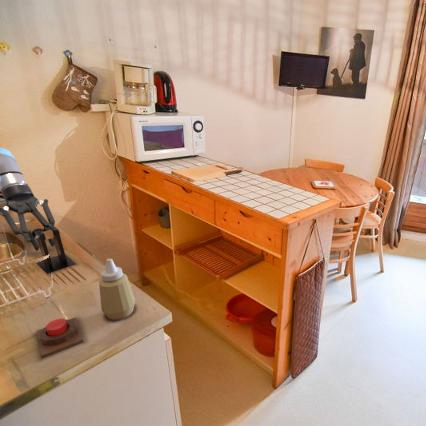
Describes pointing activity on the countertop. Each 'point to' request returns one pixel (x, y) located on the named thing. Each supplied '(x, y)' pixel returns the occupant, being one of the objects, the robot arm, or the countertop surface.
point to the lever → (44, 233)
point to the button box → (59, 339)
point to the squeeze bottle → (115, 292)
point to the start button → (56, 327)
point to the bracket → (54, 262)
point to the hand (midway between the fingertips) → (45, 246)
